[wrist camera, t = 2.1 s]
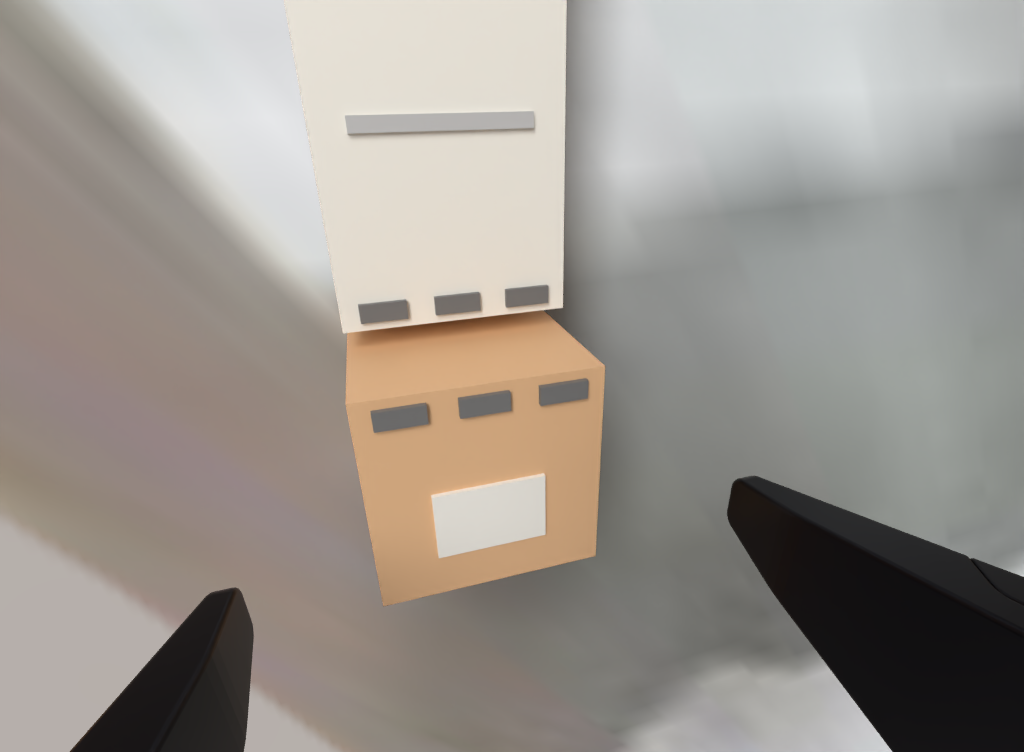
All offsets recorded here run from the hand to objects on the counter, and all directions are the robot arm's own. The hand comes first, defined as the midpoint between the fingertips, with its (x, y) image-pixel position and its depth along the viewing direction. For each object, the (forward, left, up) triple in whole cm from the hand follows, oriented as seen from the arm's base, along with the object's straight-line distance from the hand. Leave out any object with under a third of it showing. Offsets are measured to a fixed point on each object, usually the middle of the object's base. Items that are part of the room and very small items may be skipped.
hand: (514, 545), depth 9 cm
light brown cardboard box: (0, 0, -8) cm, 8 cm away
